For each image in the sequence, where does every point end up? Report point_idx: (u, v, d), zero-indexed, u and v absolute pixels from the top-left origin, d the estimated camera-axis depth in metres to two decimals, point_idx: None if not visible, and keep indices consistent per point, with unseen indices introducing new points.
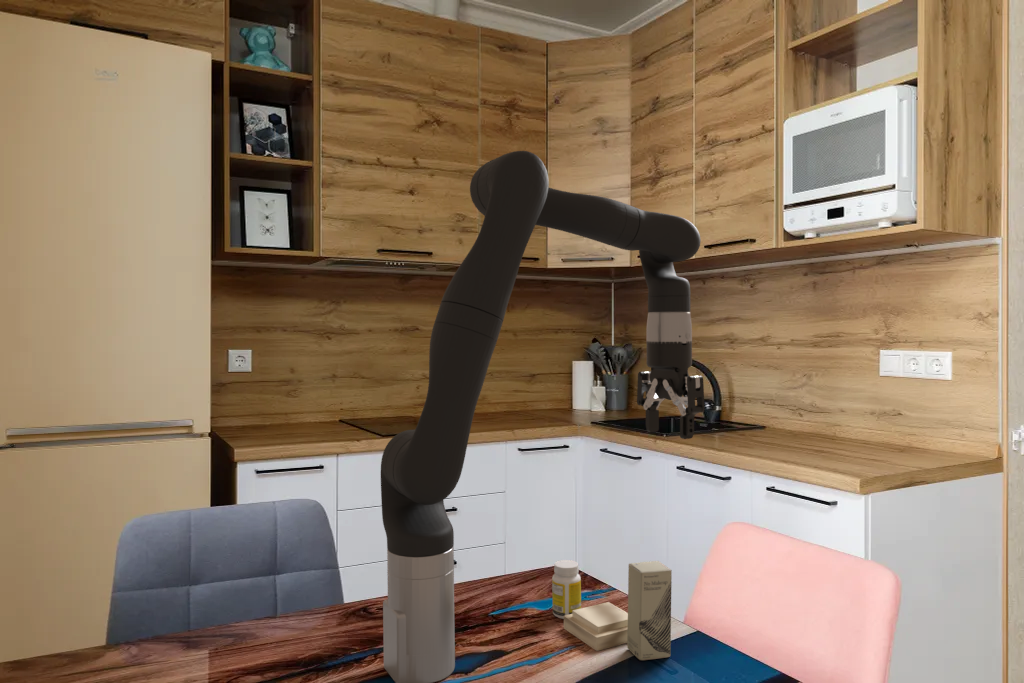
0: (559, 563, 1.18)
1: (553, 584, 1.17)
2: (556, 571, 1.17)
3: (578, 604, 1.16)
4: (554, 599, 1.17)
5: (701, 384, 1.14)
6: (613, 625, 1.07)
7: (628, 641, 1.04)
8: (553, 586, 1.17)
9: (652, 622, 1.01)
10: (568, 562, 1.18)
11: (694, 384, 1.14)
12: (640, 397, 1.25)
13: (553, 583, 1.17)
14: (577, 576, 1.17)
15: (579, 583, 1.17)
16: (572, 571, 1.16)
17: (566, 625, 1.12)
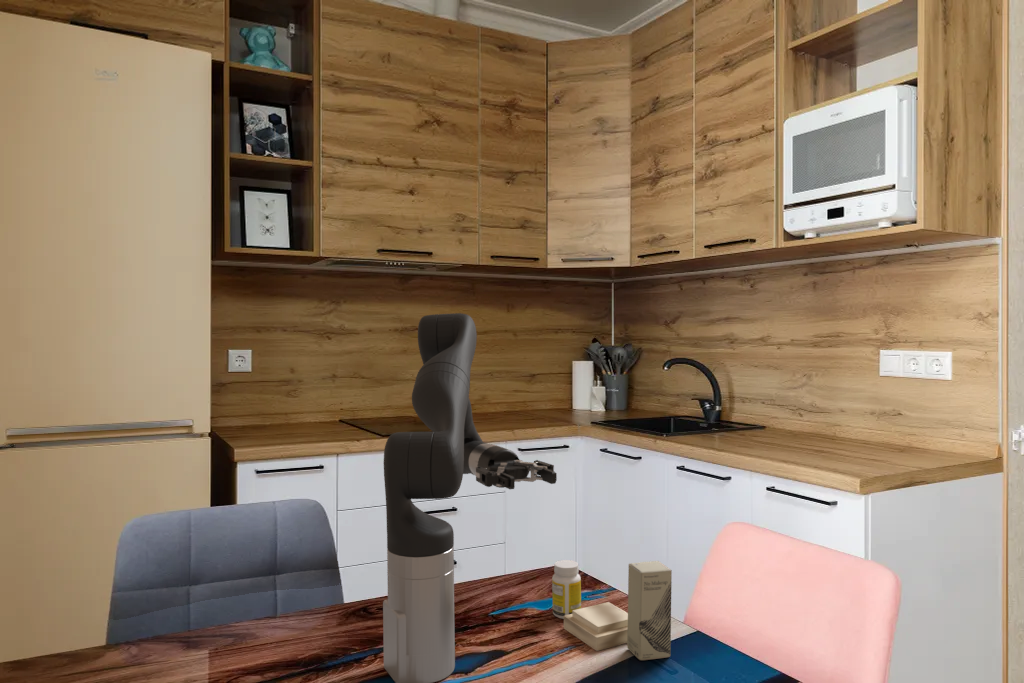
0: (559, 563, 1.18)
1: (553, 584, 1.17)
2: (556, 571, 1.17)
3: (578, 604, 1.16)
4: (554, 599, 1.17)
5: None
6: (613, 625, 1.07)
7: (628, 641, 1.04)
8: (553, 586, 1.17)
9: (652, 622, 1.01)
10: (568, 562, 1.18)
11: None
12: (488, 471, 1.29)
13: (553, 583, 1.17)
14: (577, 576, 1.17)
15: (579, 583, 1.17)
16: (572, 571, 1.16)
17: (566, 625, 1.12)
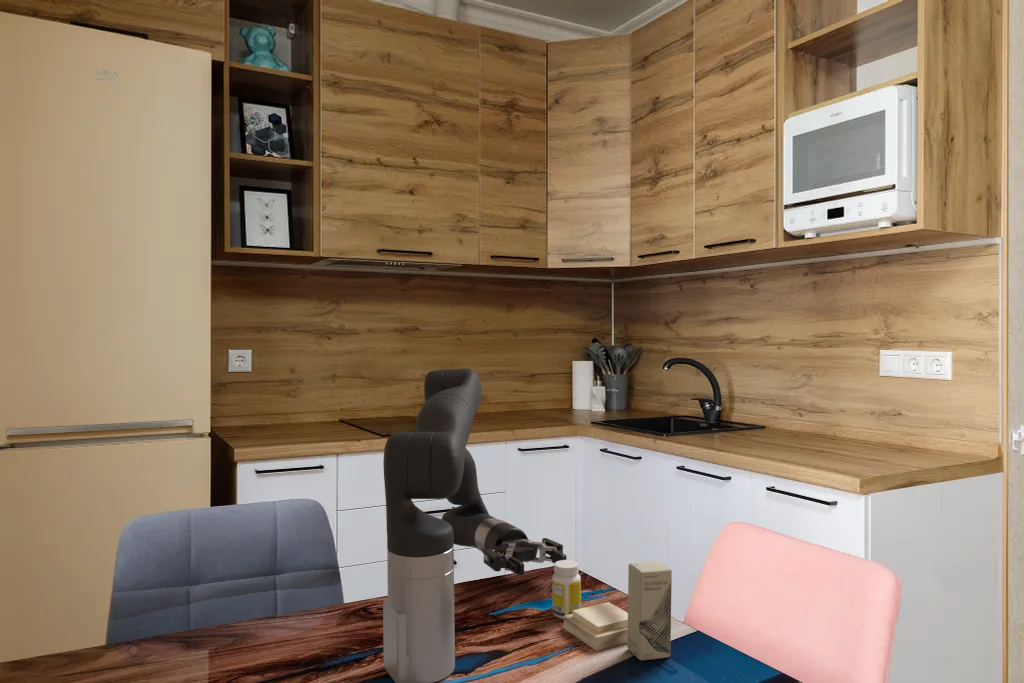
0: (559, 563, 1.18)
1: (553, 584, 1.17)
2: (556, 571, 1.17)
3: (578, 604, 1.16)
4: (554, 599, 1.17)
5: None
6: (613, 625, 1.07)
7: (628, 641, 1.04)
8: (553, 586, 1.17)
9: (652, 622, 1.01)
10: (568, 562, 1.18)
11: None
12: (497, 555, 1.26)
13: (553, 583, 1.17)
14: (577, 576, 1.17)
15: (579, 583, 1.17)
16: (572, 571, 1.16)
17: (566, 625, 1.12)
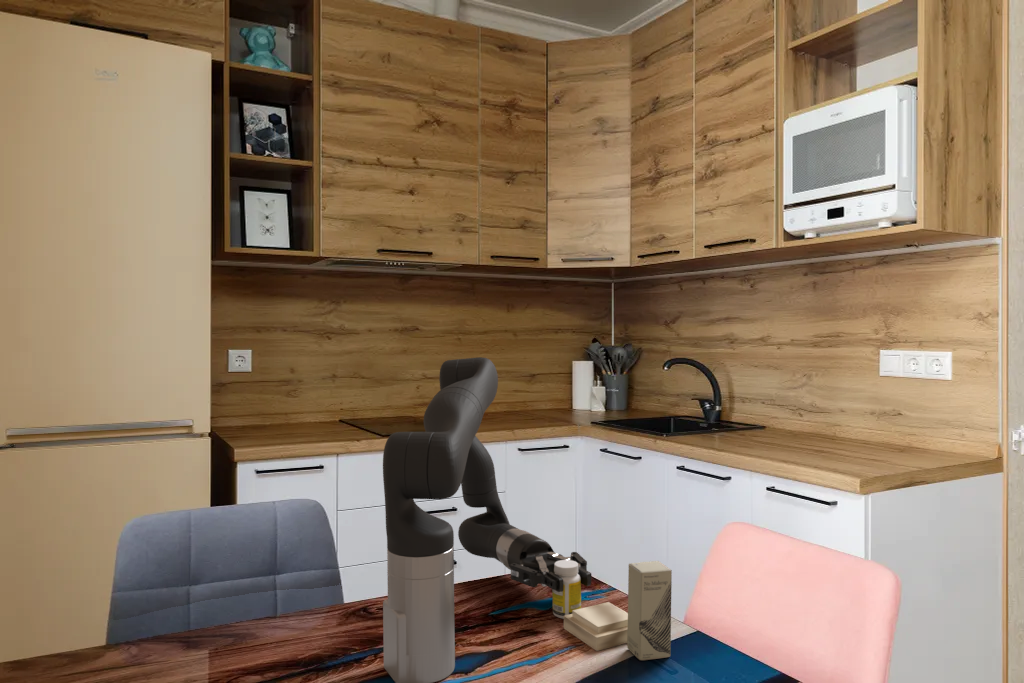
0: (559, 563, 1.18)
1: None
2: (556, 571, 1.17)
3: (578, 604, 1.16)
4: (554, 599, 1.17)
5: None
6: (613, 625, 1.07)
7: (628, 641, 1.04)
8: None
9: (652, 622, 1.01)
10: (568, 562, 1.18)
11: None
12: (531, 569, 1.18)
13: None
14: (577, 576, 1.17)
15: (579, 583, 1.17)
16: (572, 570, 1.16)
17: (566, 625, 1.12)
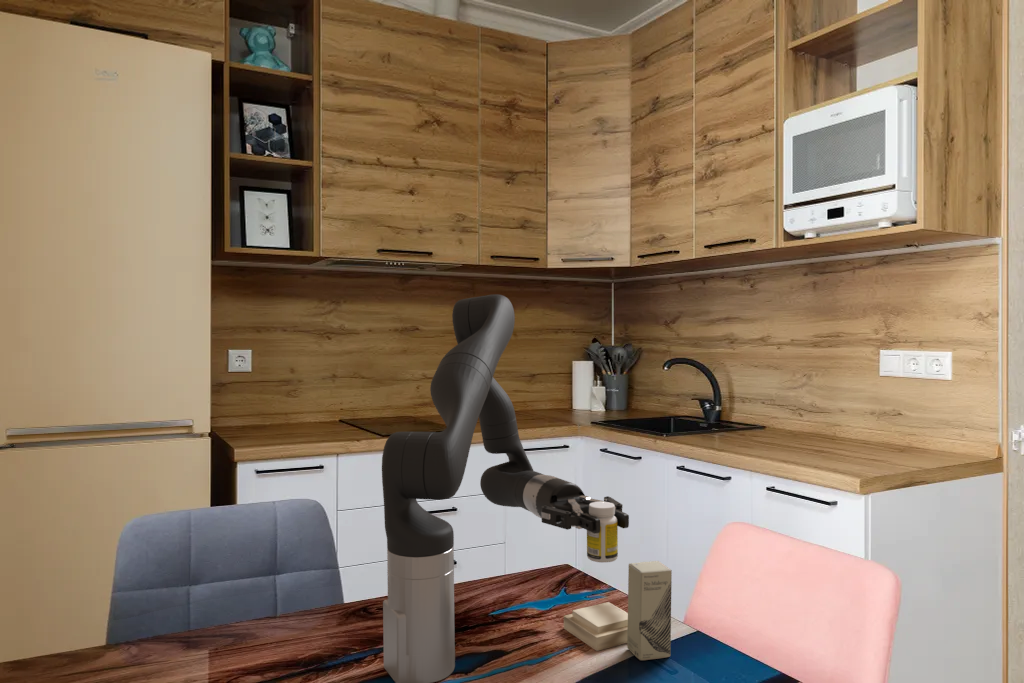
0: (594, 504, 1.10)
1: None
2: (591, 512, 1.09)
3: (615, 547, 1.09)
4: (589, 542, 1.09)
5: None
6: (613, 625, 1.07)
7: (628, 641, 1.04)
8: None
9: (652, 623, 1.01)
10: (604, 503, 1.11)
11: None
12: (564, 511, 1.11)
13: None
14: (614, 517, 1.09)
15: (616, 524, 1.09)
16: (609, 511, 1.09)
17: (566, 625, 1.12)
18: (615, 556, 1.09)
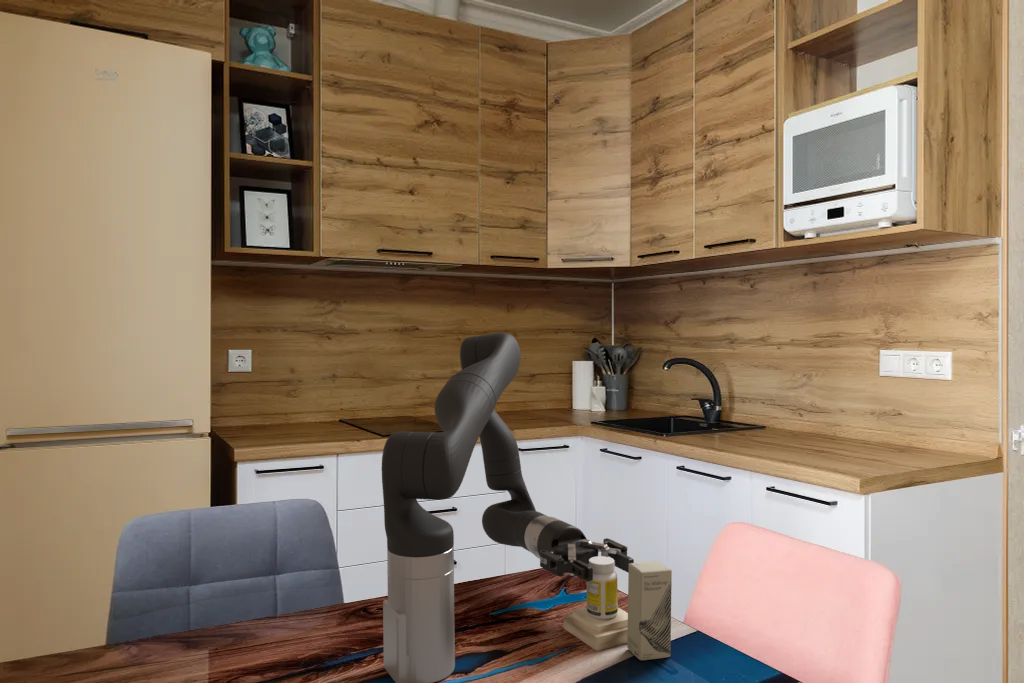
0: (593, 560, 1.10)
1: (588, 582, 1.10)
2: None
3: (615, 603, 1.09)
4: (589, 598, 1.09)
5: None
6: (613, 625, 1.07)
7: (628, 641, 1.04)
8: (588, 584, 1.10)
9: (652, 622, 1.01)
10: (603, 558, 1.11)
11: None
12: (559, 557, 1.11)
13: (588, 581, 1.10)
14: (613, 573, 1.10)
15: (616, 580, 1.09)
16: (609, 567, 1.09)
17: (566, 625, 1.12)
18: (615, 612, 1.09)
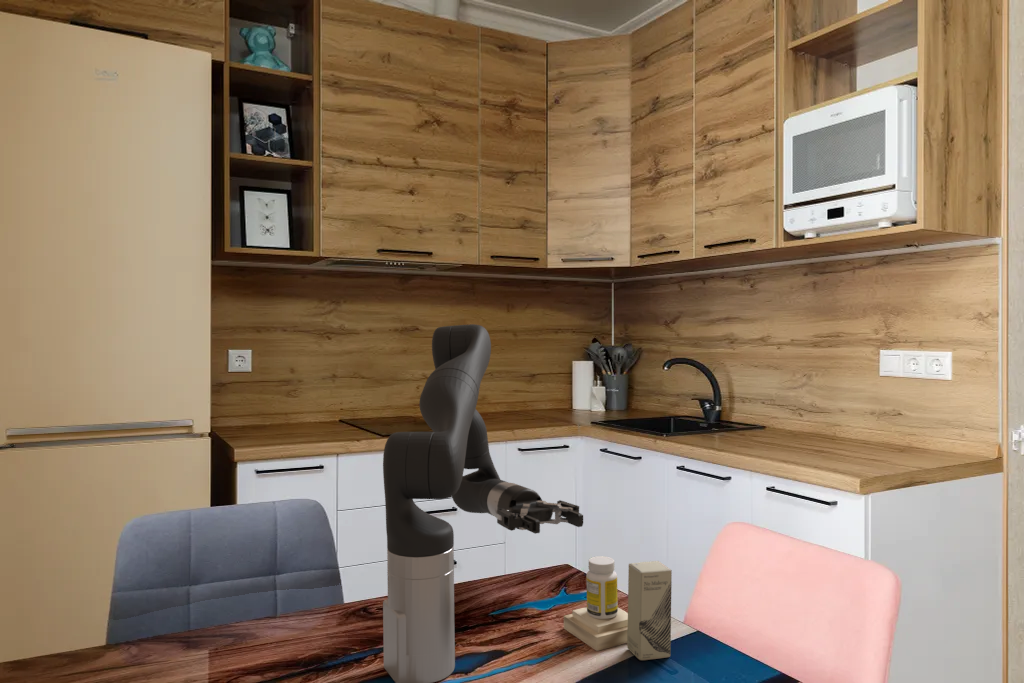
0: (593, 560, 1.10)
1: (588, 582, 1.10)
2: (591, 568, 1.09)
3: (615, 603, 1.09)
4: (589, 598, 1.09)
5: None
6: (613, 625, 1.07)
7: (628, 641, 1.04)
8: (588, 584, 1.10)
9: (652, 622, 1.01)
10: (603, 558, 1.11)
11: None
12: (511, 513, 1.22)
13: (588, 581, 1.10)
14: (613, 573, 1.09)
15: (616, 580, 1.09)
16: (609, 567, 1.09)
17: (566, 625, 1.12)
18: (615, 612, 1.09)
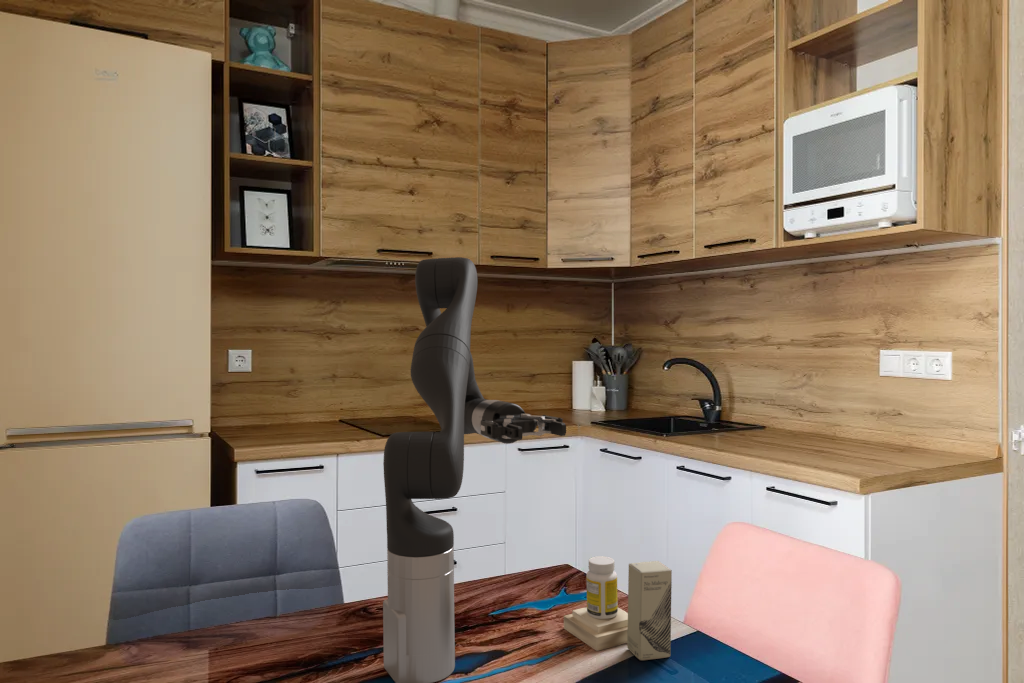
0: (593, 560, 1.10)
1: (588, 582, 1.10)
2: (591, 568, 1.09)
3: (615, 603, 1.09)
4: (589, 598, 1.09)
5: None
6: (613, 625, 1.07)
7: (628, 641, 1.04)
8: (588, 584, 1.10)
9: (652, 622, 1.01)
10: (603, 558, 1.11)
11: None
12: None
13: (588, 581, 1.10)
14: (613, 573, 1.09)
15: (616, 580, 1.09)
16: (609, 567, 1.09)
17: (566, 625, 1.12)
18: (615, 612, 1.09)
